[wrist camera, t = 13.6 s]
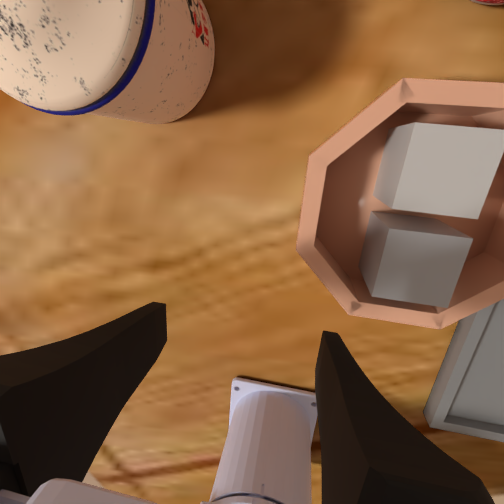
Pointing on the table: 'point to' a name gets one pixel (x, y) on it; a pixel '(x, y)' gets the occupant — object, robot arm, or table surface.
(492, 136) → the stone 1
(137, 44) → the teacup with lid
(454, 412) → the tray
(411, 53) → the table surface
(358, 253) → the bowl
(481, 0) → the soda can
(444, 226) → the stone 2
